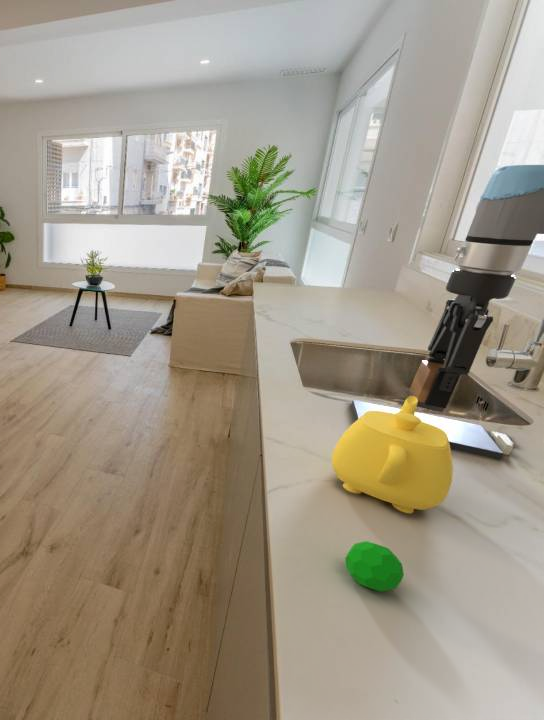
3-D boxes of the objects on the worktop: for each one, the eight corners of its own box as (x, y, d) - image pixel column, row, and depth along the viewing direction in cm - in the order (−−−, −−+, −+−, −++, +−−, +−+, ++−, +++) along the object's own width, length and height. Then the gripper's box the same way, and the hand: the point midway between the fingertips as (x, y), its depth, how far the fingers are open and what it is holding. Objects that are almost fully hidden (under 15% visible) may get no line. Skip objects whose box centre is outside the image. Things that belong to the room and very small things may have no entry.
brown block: (433, 399, 80) (449, 365, 77) (442, 412, 75) (459, 376, 72) (407, 394, 81) (421, 360, 79) (414, 406, 76) (430, 370, 74)
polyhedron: (333, 560, 50) (345, 529, 49) (378, 567, 50) (393, 536, 48) (353, 596, 46) (367, 563, 44) (404, 605, 45) (420, 572, 43)
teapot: (439, 476, 67) (472, 406, 62) (436, 547, 53) (478, 464, 48) (339, 443, 75) (361, 379, 70) (313, 498, 61) (339, 422, 56)
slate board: (477, 432, 80) (480, 425, 79) (500, 461, 71) (504, 453, 70) (350, 405, 89) (352, 399, 88) (356, 428, 80) (359, 421, 79)
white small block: (493, 444, 76) (499, 445, 76) (501, 454, 73) (508, 456, 73) (498, 434, 75) (504, 435, 75) (507, 444, 72) (513, 446, 72)
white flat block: (491, 430, 79) (489, 434, 79) (499, 440, 76) (497, 444, 76) (505, 433, 78) (503, 437, 78) (514, 444, 75) (512, 447, 75)
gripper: (438, 261, 78) (394, 376, 87) (473, 276, 63) (415, 414, 71) (493, 265, 75) (442, 384, 83) (545, 282, 59) (474, 426, 68)
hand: (430, 398), depth 77 cm, fingers closed on brown block, 6 cm apart
